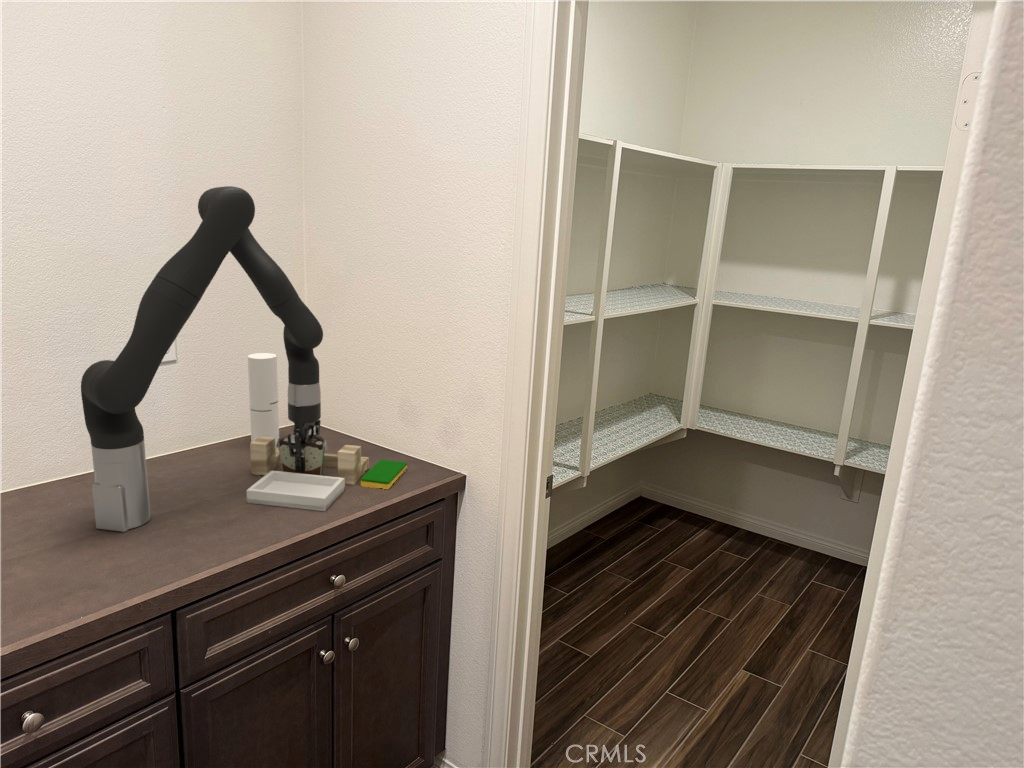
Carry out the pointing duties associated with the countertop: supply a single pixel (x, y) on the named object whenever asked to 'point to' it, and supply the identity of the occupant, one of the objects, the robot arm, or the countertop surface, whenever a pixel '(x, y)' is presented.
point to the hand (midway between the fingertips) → (305, 466)
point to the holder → (346, 461)
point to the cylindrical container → (263, 395)
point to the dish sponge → (383, 474)
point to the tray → (296, 490)
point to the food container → (312, 456)
